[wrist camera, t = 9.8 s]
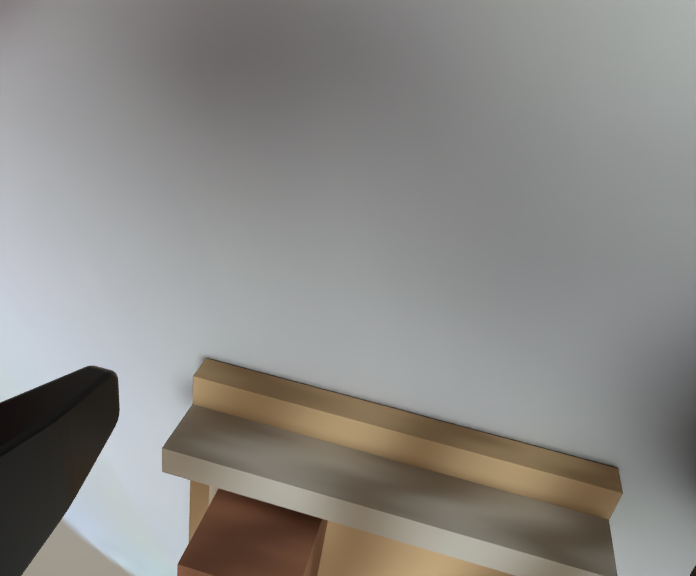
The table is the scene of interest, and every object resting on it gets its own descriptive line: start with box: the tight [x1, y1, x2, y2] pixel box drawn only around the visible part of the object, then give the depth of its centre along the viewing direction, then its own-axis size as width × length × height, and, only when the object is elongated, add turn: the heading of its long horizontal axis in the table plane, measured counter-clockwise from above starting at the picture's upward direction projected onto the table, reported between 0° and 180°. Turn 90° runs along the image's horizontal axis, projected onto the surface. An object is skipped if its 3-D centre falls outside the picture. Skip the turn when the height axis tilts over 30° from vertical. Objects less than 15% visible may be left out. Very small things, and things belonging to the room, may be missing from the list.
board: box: [162, 358, 623, 576], centre depth 26 cm, size 16×14×4 cm
